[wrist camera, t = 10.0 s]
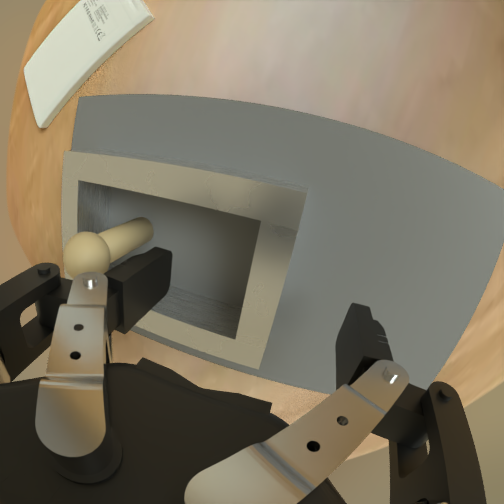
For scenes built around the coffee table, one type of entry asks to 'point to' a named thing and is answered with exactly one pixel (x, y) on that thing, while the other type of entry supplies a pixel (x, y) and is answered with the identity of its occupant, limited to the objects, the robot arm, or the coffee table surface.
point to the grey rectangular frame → (206, 195)
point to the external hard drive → (79, 51)
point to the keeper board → (304, 228)
